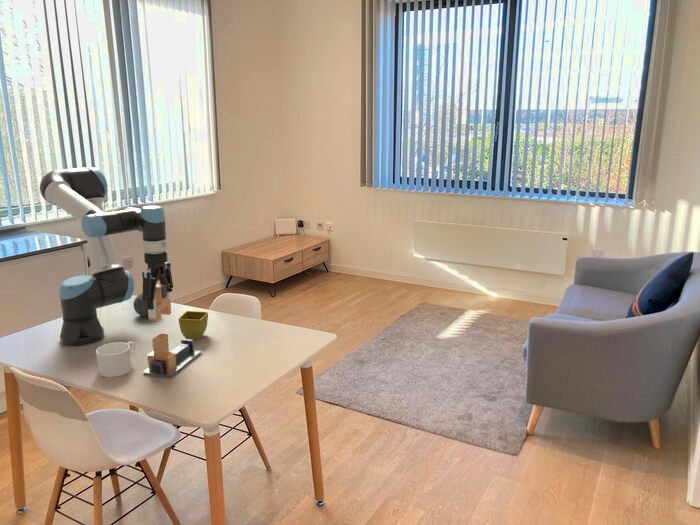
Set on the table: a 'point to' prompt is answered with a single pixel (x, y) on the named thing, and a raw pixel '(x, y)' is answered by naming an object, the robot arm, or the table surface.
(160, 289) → the tan wooden arch block
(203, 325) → the flower pot
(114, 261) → the robot arm
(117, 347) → the mug
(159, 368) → the rail base
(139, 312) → the decorative ball
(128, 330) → the table surface
